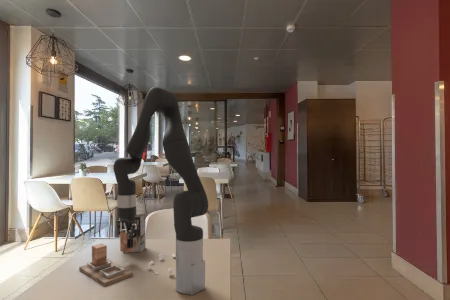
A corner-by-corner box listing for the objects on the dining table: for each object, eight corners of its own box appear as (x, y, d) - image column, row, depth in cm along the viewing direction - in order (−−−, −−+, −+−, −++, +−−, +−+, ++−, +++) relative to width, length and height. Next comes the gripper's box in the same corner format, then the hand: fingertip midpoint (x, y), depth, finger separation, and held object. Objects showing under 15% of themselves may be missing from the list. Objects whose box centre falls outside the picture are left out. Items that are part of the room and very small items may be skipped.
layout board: (132, 275, 108) (132, 250, 107) (104, 286, 99) (104, 259, 99) (106, 261, 121) (106, 239, 120) (79, 269, 112) (79, 246, 112)
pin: (134, 250, 120) (134, 231, 120) (125, 253, 117) (125, 233, 117) (128, 248, 122) (128, 229, 123) (120, 251, 119) (120, 231, 119)
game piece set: (188, 279, 105) (188, 269, 105) (137, 274, 109) (137, 264, 109) (202, 259, 124) (202, 250, 124) (159, 255, 128) (159, 247, 128)
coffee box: (146, 247, 138) (146, 213, 138) (140, 252, 131) (140, 217, 131) (127, 246, 139) (127, 213, 138) (121, 251, 132) (121, 216, 132)
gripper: (144, 206, 118) (144, 247, 118) (125, 202, 127) (126, 241, 127) (128, 208, 112) (128, 253, 112) (109, 204, 121) (109, 245, 121)
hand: (127, 246), depth 120 cm, fingers closed on pin, 4 cm apart
